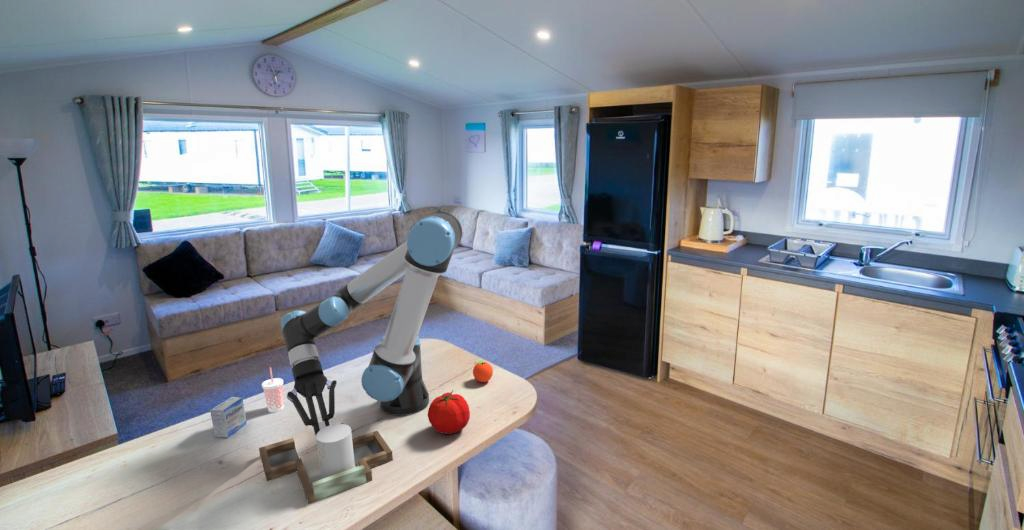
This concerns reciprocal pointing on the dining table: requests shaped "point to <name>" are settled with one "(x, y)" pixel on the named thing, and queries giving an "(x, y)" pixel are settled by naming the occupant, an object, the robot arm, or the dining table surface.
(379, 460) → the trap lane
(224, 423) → the medicine box
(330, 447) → the gray cylinder
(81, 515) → the dining table surface
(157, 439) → the dining table surface
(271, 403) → the beverage cup
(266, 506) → the dining table surface
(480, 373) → the clementine
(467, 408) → the tomato
